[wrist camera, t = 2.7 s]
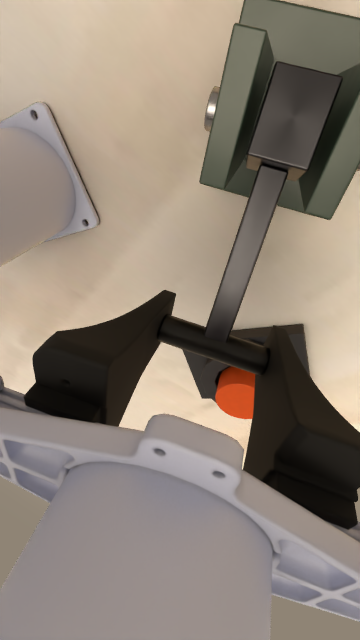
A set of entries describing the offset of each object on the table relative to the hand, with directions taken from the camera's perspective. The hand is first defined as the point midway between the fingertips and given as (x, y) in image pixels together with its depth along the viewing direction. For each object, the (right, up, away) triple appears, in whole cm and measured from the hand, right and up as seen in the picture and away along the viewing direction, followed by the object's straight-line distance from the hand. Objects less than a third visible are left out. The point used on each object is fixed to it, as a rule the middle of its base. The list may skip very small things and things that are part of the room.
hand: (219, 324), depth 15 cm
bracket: (+4, +11, +1) cm, 12 cm away
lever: (+1, +4, -2) cm, 4 cm away
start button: (+3, -5, +9) cm, 11 cm away
